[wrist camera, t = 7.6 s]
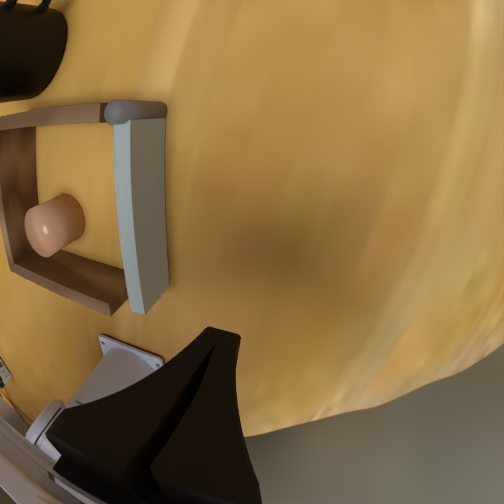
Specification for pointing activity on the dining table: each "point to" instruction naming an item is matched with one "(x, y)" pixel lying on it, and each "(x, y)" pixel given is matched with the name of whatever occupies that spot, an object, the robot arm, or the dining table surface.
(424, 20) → the dining table surface
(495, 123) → the dining table surface
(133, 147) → the door
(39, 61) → the mug
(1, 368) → the tea box
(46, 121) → the cubby
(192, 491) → the robot arm
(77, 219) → the tan rounded cylinder
